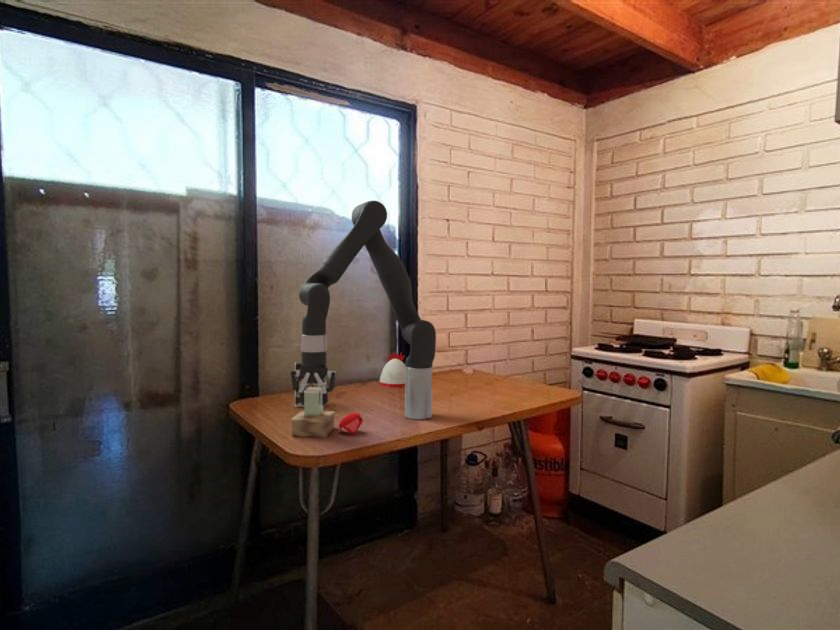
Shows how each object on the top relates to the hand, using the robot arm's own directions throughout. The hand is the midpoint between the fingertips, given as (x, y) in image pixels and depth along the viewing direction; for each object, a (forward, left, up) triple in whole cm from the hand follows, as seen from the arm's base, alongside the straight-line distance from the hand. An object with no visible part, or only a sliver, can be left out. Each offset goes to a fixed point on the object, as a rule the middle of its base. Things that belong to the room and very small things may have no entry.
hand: (313, 404), depth 150 cm
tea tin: (0, 0, -3) cm, 3 cm away
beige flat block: (0, 0, -8) cm, 8 cm away
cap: (-11, 0, -9) cm, 14 cm away
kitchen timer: (-15, -75, -9) cm, 77 cm away
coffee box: (+12, -32, -9) cm, 35 cm away
